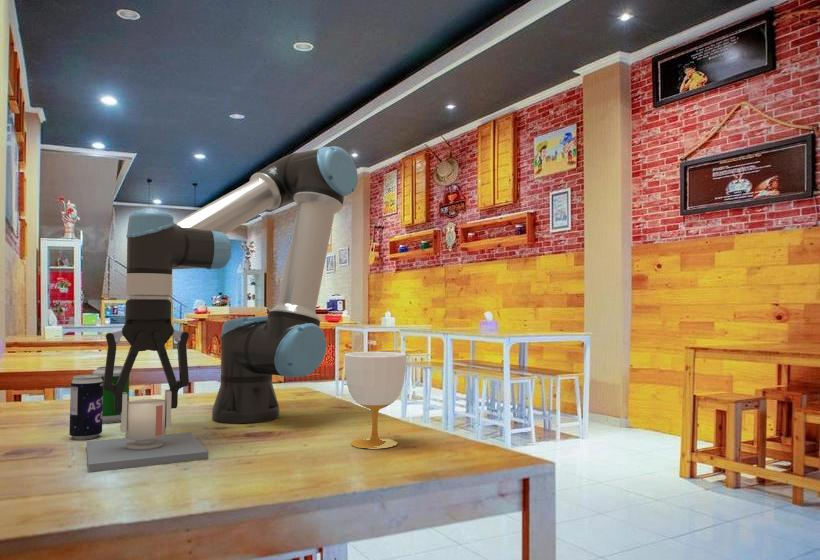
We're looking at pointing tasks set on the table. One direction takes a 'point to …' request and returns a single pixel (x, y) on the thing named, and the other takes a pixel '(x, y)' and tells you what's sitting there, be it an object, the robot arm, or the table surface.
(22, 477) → the table surface
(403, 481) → the table surface
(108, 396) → the soda can
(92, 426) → the beverage can
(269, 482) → the table surface
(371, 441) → the cup
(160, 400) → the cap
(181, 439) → the flat gray rectangular base
